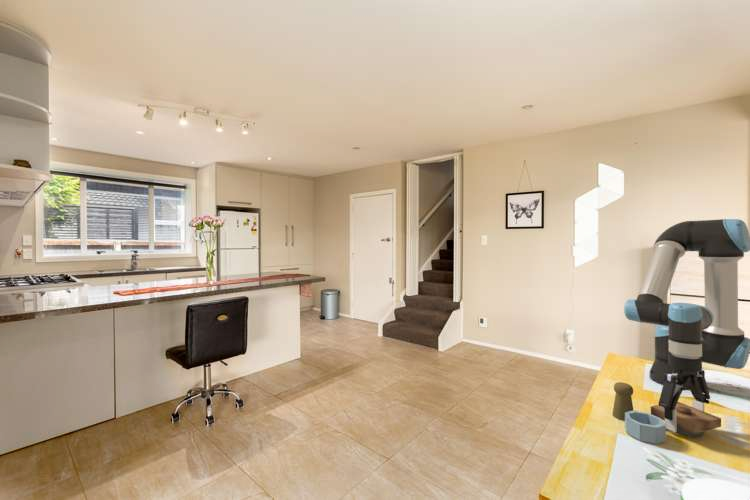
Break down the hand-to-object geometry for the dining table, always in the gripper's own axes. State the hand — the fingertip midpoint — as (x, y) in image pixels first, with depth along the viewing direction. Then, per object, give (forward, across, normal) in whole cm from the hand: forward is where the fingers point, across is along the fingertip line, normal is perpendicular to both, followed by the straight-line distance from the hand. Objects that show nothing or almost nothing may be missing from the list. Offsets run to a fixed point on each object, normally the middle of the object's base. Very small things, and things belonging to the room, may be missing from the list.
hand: (684, 426), depth 103 cm
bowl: (+1, +14, -2) cm, 14 cm away
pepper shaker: (+1, +10, -12) cm, 15 cm away
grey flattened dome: (+1, 0, 0) cm, 1 cm away
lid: (-2, 0, 0) cm, 2 cm away
